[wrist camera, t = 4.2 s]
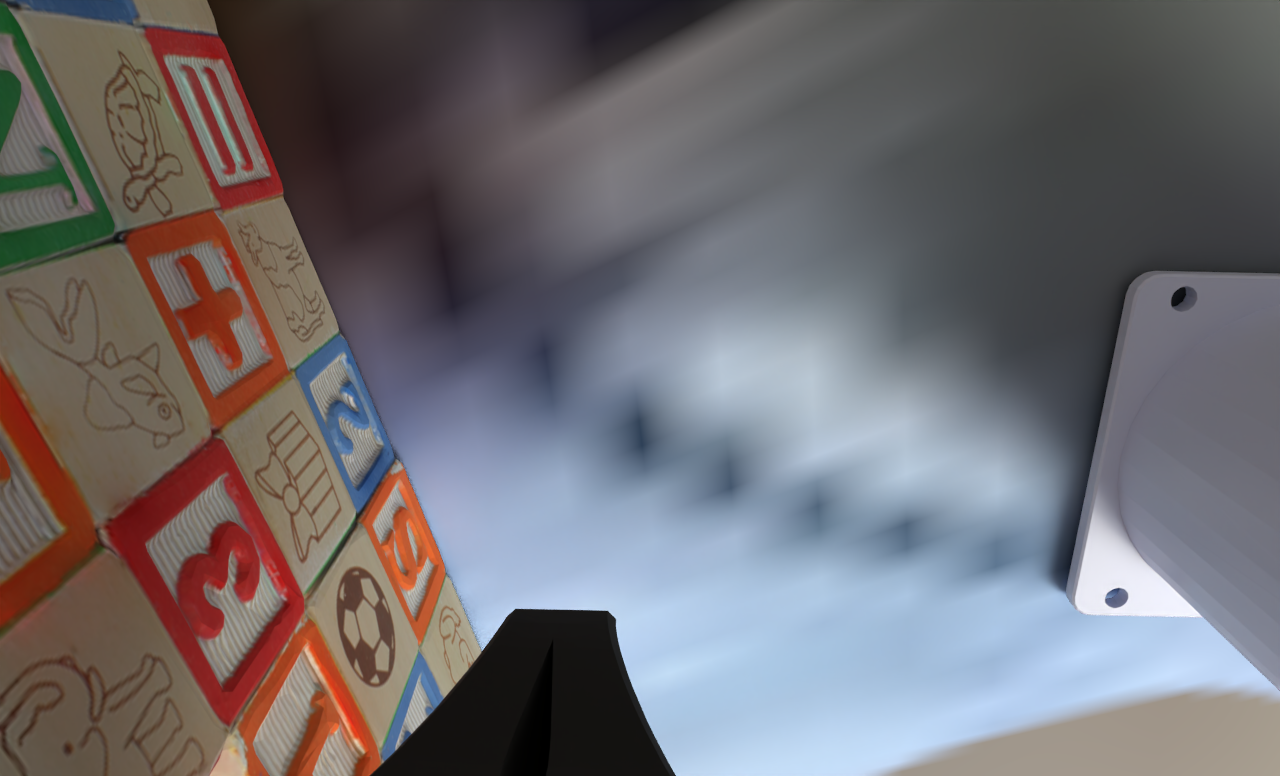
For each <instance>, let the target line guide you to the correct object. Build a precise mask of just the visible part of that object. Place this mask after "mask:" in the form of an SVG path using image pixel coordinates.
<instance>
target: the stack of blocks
mask: <svg viewBox="0 0 1280 776" xmlns="http://www.w3.org/2000/svg"><path fill="white" fill-rule="evenodd" d="M480 654H481V650H480V647H479V645H478V643H477V640H476V638H475V635H474V633H473V631H472V628H471V626H470V624H469V621H468V619H467V617H466V614H465V612H464V610H463V607H462V605H461V603H460V600H459V598H458V596H457V593H456V591H455V589H454V587H453V585H452V582H451V580H450V579H449V577H448V576H447V575H446V573H445V567H444V563H443V560H442V558H441V555H440V552H439V550H438V548H437V545H436V543H435V540H434V538H433V536H432V533H431V531H430V529H429V526H428V524H427V521H426V519H425V517H424V514H423V512H422V509H421V507H420V505H419V502H418V500H417V497H416V495H415V493H414V490H413V488H412V486H411V484H410V481H409V479H408V477H407V474H406V471H405V469H404V467H403V465H402V463H401V462H400V461H399V460H397V459H396V458H395V457H394V454H393V450H392V447H391V445H390V442H389V440H388V437H387V435H386V433H385V430H384V428H383V426H382V424H381V422H380V419H379V417H378V415H377V413H376V410H375V408H374V405H373V403H372V400H371V398H370V395H369V393H368V391H367V389H366V386H365V384H364V382H363V379H362V377H361V375H360V372H359V370H358V367H357V365H356V363H355V360H354V358H353V355H352V353H351V350H350V348H349V346H348V343H347V341H346V340H345V338H344V337H343V336H342V334H341V333H340V331H339V328H338V324H337V321H336V318H335V316H334V313H333V311H332V309H331V306H330V304H329V302H328V299H327V297H326V295H325V292H324V290H323V288H322V285H321V283H320V281H319V278H318V276H317V273H316V271H315V269H314V267H313V264H312V262H311V260H310V257H309V255H308V253H307V251H306V248H305V246H304V243H303V241H302V239H301V236H300V234H299V232H298V229H297V227H296V224H295V222H294V220H293V217H292V215H291V213H290V210H289V208H288V206H287V204H286V202H285V201H284V198H283V186H282V182H281V180H280V177H279V175H278V172H277V170H276V167H275V165H274V162H273V160H272V157H271V155H270V152H269V150H268V147H267V145H266V143H265V140H264V138H263V136H262V133H261V131H260V128H259V126H258V124H257V121H256V119H255V117H254V114H253V112H252V110H251V107H250V105H249V103H248V100H247V98H246V96H245V93H244V91H243V88H242V86H241V83H240V81H239V78H238V76H237V73H236V71H235V68H234V66H233V64H232V61H231V59H230V57H229V54H228V52H227V50H226V47H225V45H224V43H223V42H222V40H221V39H220V37H219V36H218V32H217V28H216V24H215V19H214V16H213V14H212V12H211V9H210V7H209V4H208V2H207V0H0V776H370V775H371V774H372V773H373V772H374V771H375V770H376V769H377V768H378V767H379V766H380V765H381V764H382V763H383V762H384V761H385V760H386V759H387V758H389V757H390V756H391V755H392V754H393V753H394V752H395V751H396V750H397V749H398V748H399V747H400V745H401V744H402V743H403V742H404V741H405V740H406V739H407V738H408V737H409V736H410V735H411V734H412V733H413V732H414V731H415V730H416V729H417V728H418V726H419V725H420V724H421V723H422V722H423V721H424V720H425V719H426V718H427V717H428V716H429V715H430V714H431V713H432V712H433V711H434V709H435V708H436V707H437V706H438V705H439V704H440V703H441V701H442V700H443V699H444V698H445V697H446V695H447V694H448V693H449V692H450V691H451V690H452V688H453V687H454V686H455V685H456V684H457V682H458V681H459V680H460V679H461V678H462V676H463V675H464V674H465V673H466V672H467V670H468V669H469V668H470V667H471V665H472V664H473V663H474V661H475V660H476V659H477V658H478V656H479V655H480Z"/></svg>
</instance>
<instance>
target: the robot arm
mask: <svg viewBox="0 0 1280 776" xmlns="http://www.w3.org/2000/svg"><path fill="white" fill-rule="evenodd" d="M1181 287H1185V288H1186V296H1185V298H1184V300H1183V302H1181V303H1180V304H1179V305H1178V306H1174V307H1172V306H1171V298H1172V296H1173V293H1174V292H1175V291H1176V290H1178V289H1179V288H1181ZM1115 588H1120V589H1119V591H1118V593H1117V594H1116V595H1115V596H1113V597H1112V598H1107V599H1105V597H1106V595H1107V593H1108V592H1109V591H1111V590H1112V589H1115ZM1066 596H1067V598H1068V600H1069V602H1070V603H1071V604H1072V606H1073V607H1074V608H1075V609H1076V610H1077V611H1079V612H1080V613H1082V614H1087V615H1106V616H1151V617H1197V618H1204V619H1205V620H1207V621H1208V622H1209V623H1210V624H1211V625H1212V626H1213V627H1214V628H1215V629H1216V630H1217V631H1218V632H1219V633H1220V634H1221V635H1222V636H1223V637H1224V638H1225V639H1226V640H1227V641H1228V642H1229V643H1230V644H1232V645H1233V646H1234V647H1235V648H1236V649H1237V650H1238V651H1239V652H1240V653H1241V654H1242V655H1243V656H1244V657H1245V658H1246V659H1247V660H1248V661H1249V662H1250V663H1251V664H1252V665H1253V666H1254V667H1255V668H1257V669H1258V670H1259V671H1260V672H1261V673H1262V674H1263V675H1264V676H1265V677H1266V678H1267V679H1268V680H1269V681H1270V682H1271V683H1272V684H1273V685H1274V686H1275V687H1276V688H1277V689H1278V690H1279V691H1280V273H1234V272H1187V271H1151V272H1146V273H1144V274H1142V275H1140V276H1138V277H1137V278H1136V279H1135V280H1134V281H1133V282H1132V283H1131V284H1130V286H1129V288H1128V291H1127V293H1126V297H1125V302H1124V307H1123V312H1122V317H1121V322H1120V327H1119V331H1118V336H1117V341H1116V346H1115V351H1114V356H1113V361H1112V366H1111V371H1110V376H1109V381H1108V386H1107V390H1106V395H1105V400H1104V405H1103V410H1102V415H1101V420H1100V425H1099V430H1098V435H1097V440H1096V445H1095V449H1094V454H1093V459H1092V464H1091V469H1090V474H1089V479H1088V484H1087V489H1086V494H1085V499H1084V504H1083V509H1082V513H1081V518H1080V523H1079V528H1078V533H1077V538H1076V543H1075V548H1074V553H1073V558H1072V563H1071V568H1070V572H1069V577H1068V582H1067V587H1066ZM370 776H676V775H675V774H674V772H673V770H672V768H671V767H670V765H669V763H668V761H667V759H666V757H665V756H664V754H663V752H662V750H661V748H660V746H659V744H658V742H657V740H656V738H655V736H654V734H653V732H652V730H651V728H650V726H649V724H648V722H647V720H646V718H645V715H644V713H643V711H642V708H641V706H640V704H639V701H638V699H637V696H636V694H635V692H634V689H633V687H632V684H631V682H630V679H629V676H628V674H627V671H626V667H625V664H624V661H623V658H622V655H621V651H620V647H619V643H618V638H617V632H616V619H615V618H614V617H613V616H612V615H611V614H610V613H609V612H608V611H592V610H544V609H515V610H514V611H513V612H512V613H510V614H509V615H508V616H507V617H506V619H505V620H504V622H503V623H502V625H501V626H500V628H499V629H498V631H497V632H496V633H495V635H494V636H493V638H492V639H491V640H490V642H489V643H488V644H487V646H486V647H485V648H484V650H483V651H482V652H481V654H480V655H479V656H478V658H477V659H476V660H475V661H474V663H473V664H472V665H471V667H470V668H469V669H468V670H467V672H466V673H465V674H464V675H463V676H462V678H461V679H460V680H459V681H458V682H457V684H456V685H455V686H454V687H453V688H452V690H451V691H450V692H449V693H448V694H447V695H446V697H445V698H444V699H443V700H442V701H441V703H440V704H439V705H438V706H437V707H436V708H435V709H434V711H433V712H432V713H431V714H430V715H429V716H428V717H427V718H426V719H425V720H424V721H423V722H422V723H421V724H420V725H419V726H418V728H417V729H416V730H415V731H414V732H413V733H412V734H411V735H410V736H409V737H408V738H407V739H406V740H405V741H404V742H403V743H402V744H401V745H400V747H399V748H398V749H397V750H396V751H395V752H394V753H393V754H392V755H391V756H390V757H389V758H387V759H386V760H385V761H384V762H383V763H382V764H381V765H380V766H379V767H378V768H377V769H376V770H375V771H374V772H373V773H372V774H371V775H370Z"/></svg>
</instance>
